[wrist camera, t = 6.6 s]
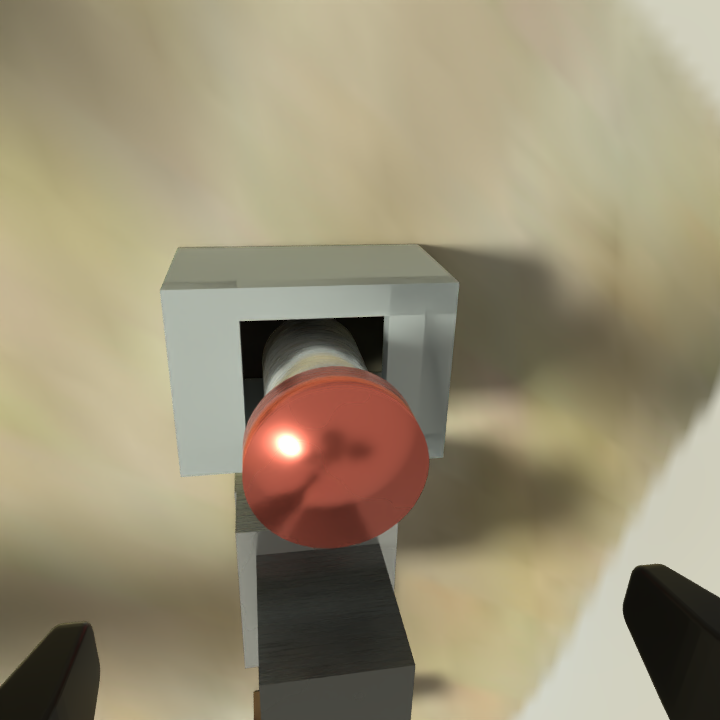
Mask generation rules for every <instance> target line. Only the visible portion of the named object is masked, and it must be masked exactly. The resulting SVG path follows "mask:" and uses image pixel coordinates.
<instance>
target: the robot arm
mask: <svg viewBox="0 0 720 720" xmlns="http://www.w3.org/2000/svg"><path fill="white" fill-rule="evenodd" d="M623 615H624V619H625V622H626V624H627V627H628V629H629V631H630V633H631V635H632V637H633V640H634V642H635V644H636V647H637V649H638V651H639V653H640V656H641V658H642V660H643V662H644V664H645V667H646V669H647V671H648V673H649V676H650V678H651V680H652V682H653V685H654V687H655V689H656V691H657V694H658V696H659V698H660V700H661V703H662V705H663V707H664V709H665V711H666V713H667V715H668V717H669V719H670V720H720V598H719V597H718V596H716V595H714V594H713V593H711V592H709V591H708V590H706V589H704V588H702V587H701V586H699V585H697V584H695V583H694V582H692V581H691V580H689V579H687V578H685V577H684V576H682V575H680V574H679V573H677V572H675V571H673V570H672V569H670V568H668V567H666V566H665V565H662V564H650V565H640V566H637V567H635V569H634V570H633V571H632V573H631V577H630V580H629V584H628V588H627V591H626V595H625V598H624V602H623ZM99 681H100V663H99V658H98V653H97V648H96V643H95V638H94V633H93V629H92V626H91V624H90V623H89V622H86V621H82V622H72V623H63V624H59V625H57V626H56V627H54V628H53V629H52V630H51V631H50V632H49V633H48V634H47V636H46V637H45V638H44V639H43V640H42V641H41V642H40V643H39V644H38V645H37V647H36V648H35V649H34V650H33V651H32V652H31V653H30V654H29V655H28V656H27V658H26V659H25V660H24V661H23V662H22V663H21V664H20V665H19V666H18V668H17V669H16V670H15V671H14V672H13V673H12V674H11V675H10V676H9V677H8V679H7V680H6V681H5V682H4V683H3V684H2V685H1V686H0V720H94V715H95V708H96V702H97V695H98V688H99Z"/></svg>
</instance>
